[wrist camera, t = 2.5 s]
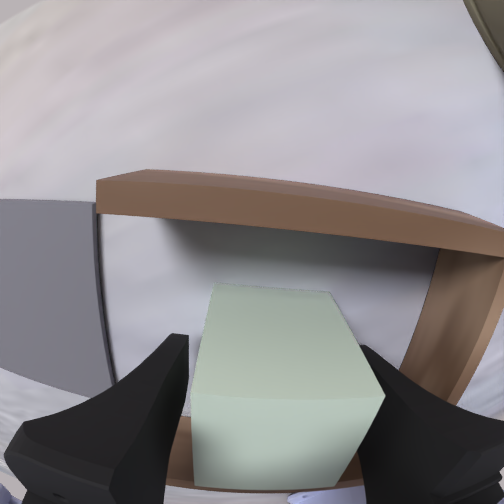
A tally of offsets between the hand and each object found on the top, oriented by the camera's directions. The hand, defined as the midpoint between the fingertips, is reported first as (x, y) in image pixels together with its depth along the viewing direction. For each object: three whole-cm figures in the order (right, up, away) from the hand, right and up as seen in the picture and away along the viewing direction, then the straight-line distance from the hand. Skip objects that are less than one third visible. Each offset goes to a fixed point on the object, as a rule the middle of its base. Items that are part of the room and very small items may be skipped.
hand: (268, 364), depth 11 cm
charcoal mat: (-12, +2, +1) cm, 12 cm away
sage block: (0, +1, +2) cm, 2 cm away
